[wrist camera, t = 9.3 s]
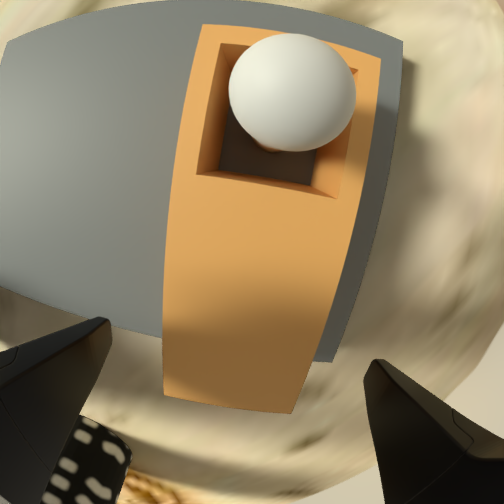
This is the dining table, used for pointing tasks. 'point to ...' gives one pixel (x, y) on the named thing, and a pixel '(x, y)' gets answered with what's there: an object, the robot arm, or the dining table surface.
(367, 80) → the orange rectangular block
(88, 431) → the spotted tube
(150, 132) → the keeper board
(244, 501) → the dining table surface
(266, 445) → the dining table surface
